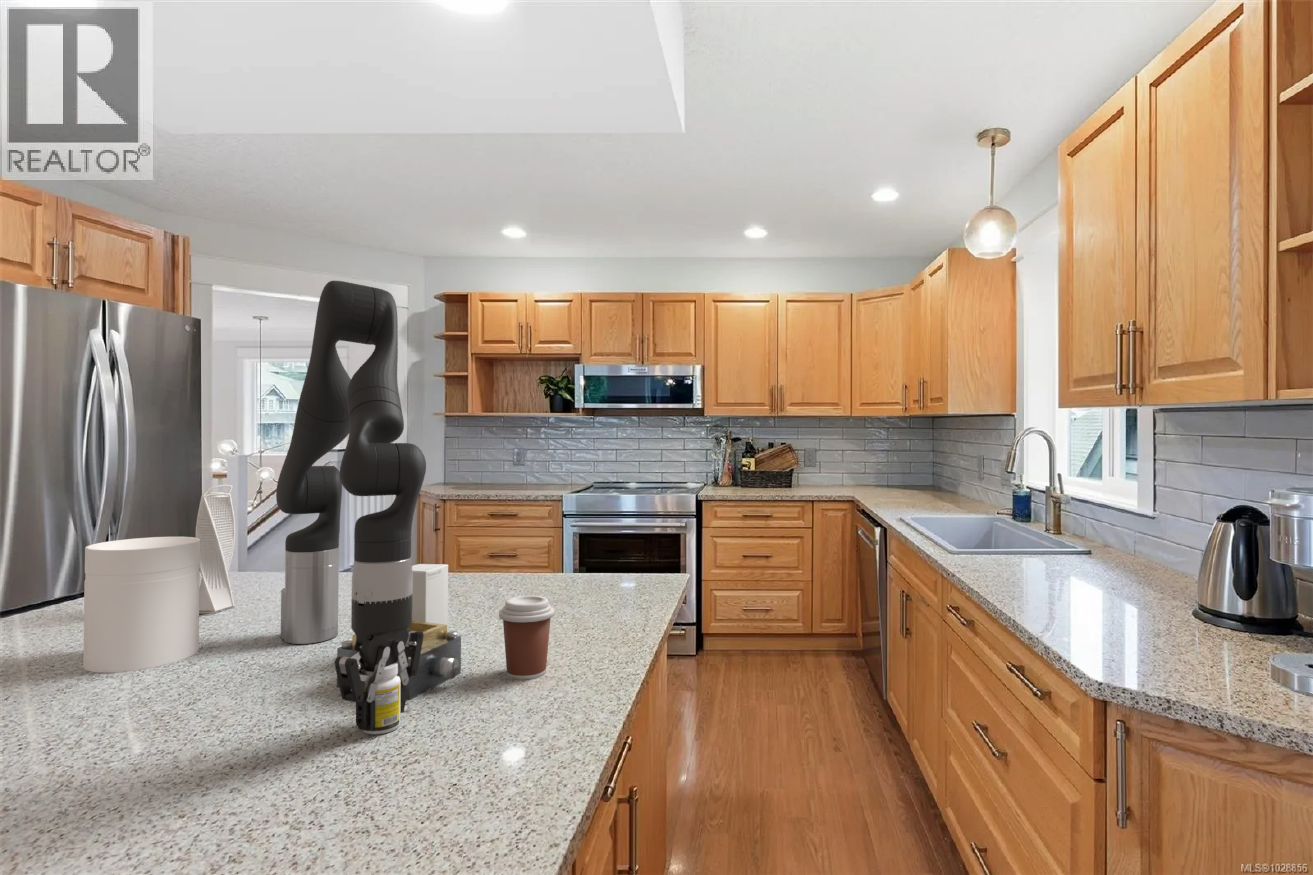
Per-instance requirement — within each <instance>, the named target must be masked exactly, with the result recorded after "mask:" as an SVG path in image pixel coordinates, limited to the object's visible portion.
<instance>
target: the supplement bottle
mask: <svg viewBox="0 0 1313 875" xmlns="http://www.w3.org/2000/svg"><path fill="white" fill-rule="evenodd" d="M373 673H374V672H368V671H366V675H370V676H372V675H373ZM397 674H398V663H397V662H395V663H393V664H391V665H389V666H386V667H385V668H384V672H383V676H382V680H381V682H380V683H378V684H377V688H376V692H375V696H374V699H373V700H374V701H375V727H374V728H373V729H372V730H370V731H366V730H362V731H363V732H364V733H365V734H368V735H383V734H388V733H391V732H393V731H395V730H397V729H398V728H399V727H400V725H401V720H402V718H401V714H402V713H401V703H400V701H401V680H400V677H399V676H398V675H397ZM367 686H368V682H366V683H365V686H364V691H366V690H367Z"/></svg>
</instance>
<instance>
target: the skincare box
mask: <svg viewBox="0 0 1313 875" xmlns="http://www.w3.org/2000/svg"><path fill="white" fill-rule="evenodd" d="M412 572H413V607H412V621H420V622H429V623H437V624H445V625H447V633H448V632H449V564H445V563H443V564H442V563H440V564H437V563H436V564H435V563H418V564H414V565H412Z"/></svg>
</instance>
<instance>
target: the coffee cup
mask: <svg viewBox="0 0 1313 875" xmlns="http://www.w3.org/2000/svg"><path fill="white" fill-rule="evenodd" d="M504 602H505V604H504V606H503V607H502V608H501V609H500V610H499V611H498V617H499V619H500V620H502V624H503V625H502V627H503V638H504V650H505V664H506V666H505V667H506V676H507V677H508V678H509V679H512V680H521V681H527V680H534V679H538V678H541V677H543V676H544V675H545V674H547V662H548V651H549V641H550V640H549V639H550V629H551V618H553V617H554V616H555V614H556V612H555V608H554V606H551V604H550V603H549V599H548V598H547V597H545V596H542V595H541V596H540V595H532V594H531V595H518V596H513V597H510V598H507V599H506V600H505V601H504Z"/></svg>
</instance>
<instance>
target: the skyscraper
mask: <svg viewBox="0 0 1313 875" xmlns="http://www.w3.org/2000/svg"><path fill="white" fill-rule="evenodd" d="M224 487H225V488H229V489H228V492H223V491H213V492H209V491H212V490H214V489H216V488H217V489H218V488H224ZM233 487H234V486H233V485H231V484H218V485H217V484H216V485H213V486H211V487H209V488H207V489H206V490H205V491H204V492H203V493H202V495H201V497H200V501H199V507H198V512H197V517H196V522H195V524H196V525H195V538H199V539H200V563H199V570H200V577H201V580H200V586H199V614H212V615H215V614H217V613H216V612H218V613H220V612H219V611H221V610H224V609H228V610H230V609H229V608H231V609H233V608H232V607H234V608H235V601H234V596H233V592H232V587H231V583H230V578H229V571H230V566H231V563H232V560H233V554H234V549H235V544H236V518H235V511H234V505H233V504H234V503H233V500H232V494H231V493H232V491H233ZM224 611H225V610H224ZM221 612H222V611H221ZM214 613H215V614H214Z"/></svg>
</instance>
